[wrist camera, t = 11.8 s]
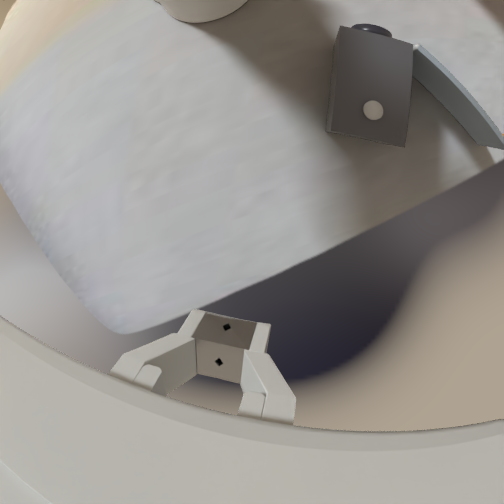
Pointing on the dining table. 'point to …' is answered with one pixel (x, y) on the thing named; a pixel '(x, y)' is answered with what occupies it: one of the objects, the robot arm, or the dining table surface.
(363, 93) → the camera housing
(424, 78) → the side door
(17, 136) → the dining table surface
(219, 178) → the dining table surface
